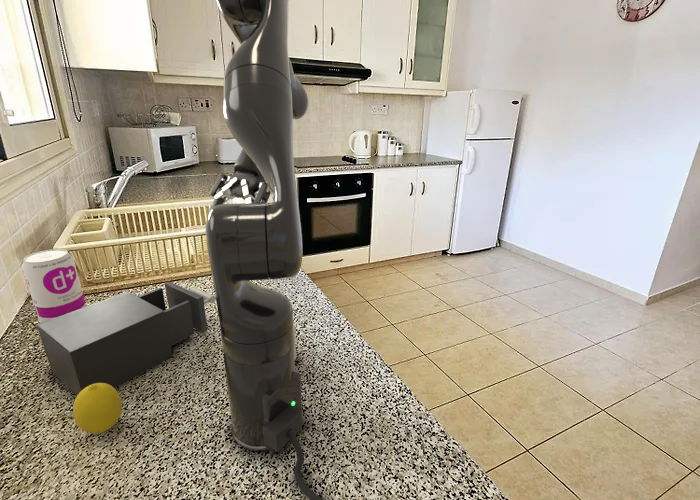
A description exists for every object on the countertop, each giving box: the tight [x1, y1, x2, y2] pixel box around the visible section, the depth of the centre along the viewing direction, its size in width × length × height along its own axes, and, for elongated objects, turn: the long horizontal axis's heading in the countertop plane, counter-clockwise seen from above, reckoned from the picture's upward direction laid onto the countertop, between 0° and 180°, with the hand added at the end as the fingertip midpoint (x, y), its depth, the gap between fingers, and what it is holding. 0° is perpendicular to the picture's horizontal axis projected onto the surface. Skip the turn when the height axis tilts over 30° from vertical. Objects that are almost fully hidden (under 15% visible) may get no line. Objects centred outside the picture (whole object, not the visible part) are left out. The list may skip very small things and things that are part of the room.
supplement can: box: [21, 248, 87, 324], centre depth 77 cm, size 8×8×15 cm
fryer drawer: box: [136, 280, 217, 347], centre depth 74 cm, size 18×11×8 cm, turn 146°
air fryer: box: [36, 291, 173, 396], centre depth 65 cm, size 15×13×10 cm
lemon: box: [72, 383, 123, 434], centre depth 52 cm, size 6×6×8 cm
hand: (226, 220), depth 81 cm, fingers open, 8 cm apart
